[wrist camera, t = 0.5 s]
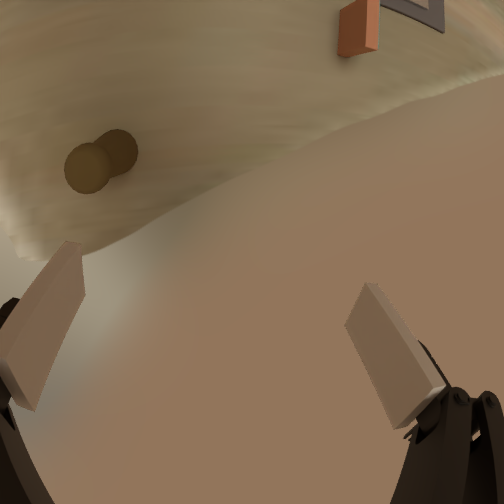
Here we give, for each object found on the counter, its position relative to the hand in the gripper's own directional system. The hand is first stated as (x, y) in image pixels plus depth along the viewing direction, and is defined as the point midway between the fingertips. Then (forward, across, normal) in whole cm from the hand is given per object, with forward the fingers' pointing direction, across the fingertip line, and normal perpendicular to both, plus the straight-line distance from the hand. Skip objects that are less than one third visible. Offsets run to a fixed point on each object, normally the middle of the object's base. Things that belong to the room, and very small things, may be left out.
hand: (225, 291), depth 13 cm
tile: (+27, +12, +21) cm, 36 cm away
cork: (+27, -14, 0) cm, 30 cm away
